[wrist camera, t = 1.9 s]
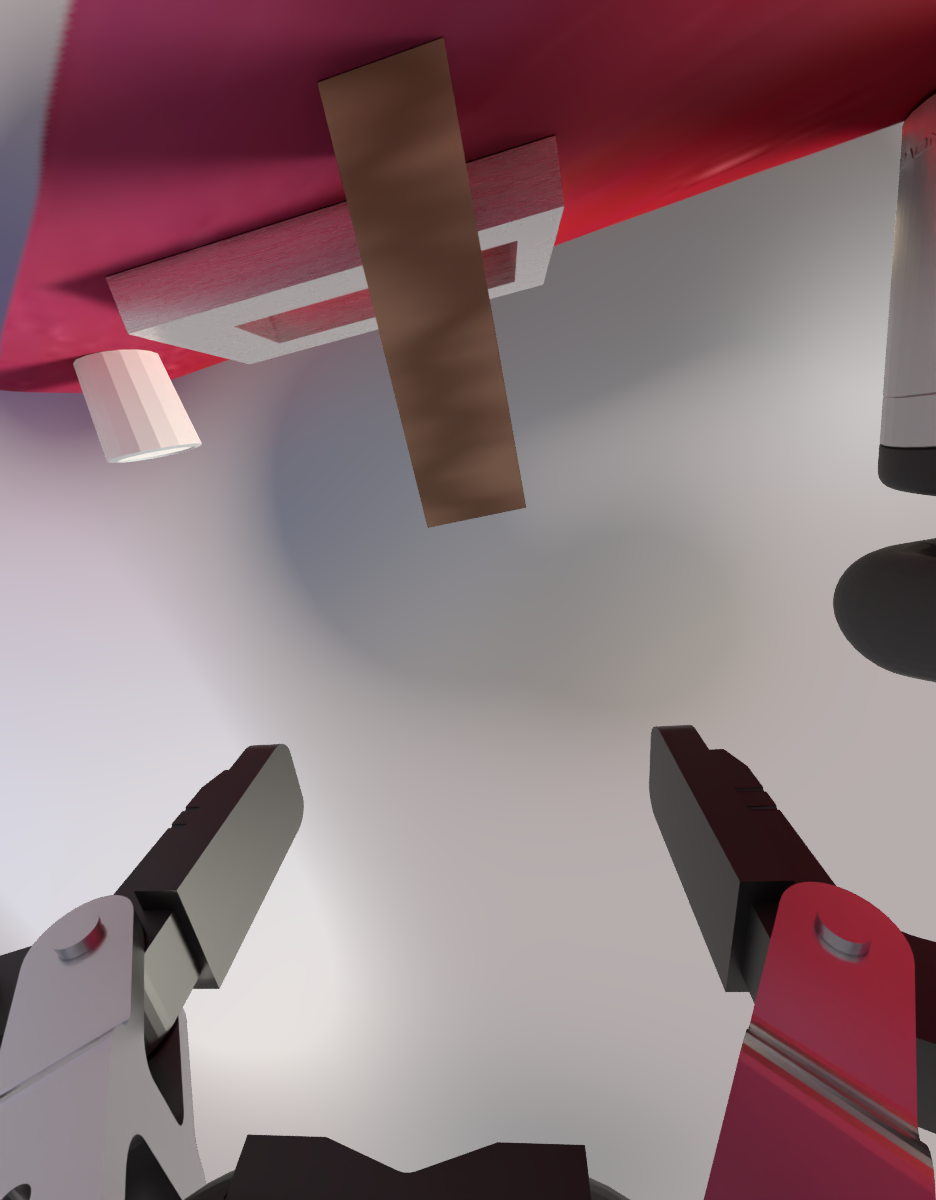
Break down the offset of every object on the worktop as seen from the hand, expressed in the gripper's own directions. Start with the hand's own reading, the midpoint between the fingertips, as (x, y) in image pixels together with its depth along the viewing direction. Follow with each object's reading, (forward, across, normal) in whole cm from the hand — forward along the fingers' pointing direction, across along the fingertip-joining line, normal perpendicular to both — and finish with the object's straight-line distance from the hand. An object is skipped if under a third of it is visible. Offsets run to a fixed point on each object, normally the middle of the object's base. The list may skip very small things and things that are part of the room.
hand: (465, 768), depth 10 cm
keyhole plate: (+23, +6, -17) cm, 29 cm away
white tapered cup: (+30, +27, -15) cm, 43 cm away
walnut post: (+12, +1, -18) cm, 21 cm away
